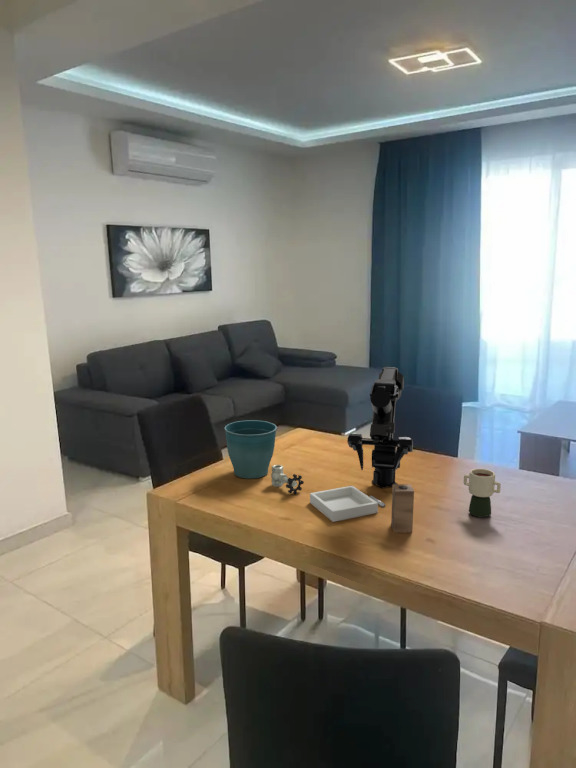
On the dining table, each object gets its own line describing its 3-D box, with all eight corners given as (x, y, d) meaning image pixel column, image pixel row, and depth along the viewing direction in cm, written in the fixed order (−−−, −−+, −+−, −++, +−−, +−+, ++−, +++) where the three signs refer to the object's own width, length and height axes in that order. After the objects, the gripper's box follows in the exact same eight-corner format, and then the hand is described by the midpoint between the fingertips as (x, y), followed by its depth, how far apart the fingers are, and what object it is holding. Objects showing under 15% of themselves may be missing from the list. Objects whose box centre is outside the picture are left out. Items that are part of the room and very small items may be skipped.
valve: (265, 485, 193) (287, 496, 184) (265, 466, 192) (287, 477, 182) (281, 481, 197) (303, 491, 188) (281, 462, 196) (303, 472, 186)
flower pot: (286, 470, 207) (286, 424, 203) (257, 486, 192) (256, 437, 189) (246, 461, 216) (245, 417, 213) (215, 476, 202) (213, 429, 198)
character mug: (502, 515, 169) (505, 473, 166) (493, 523, 164) (496, 480, 161) (467, 505, 176) (469, 465, 173) (456, 513, 171) (459, 471, 168)
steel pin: (372, 495, 182) (373, 498, 182) (369, 496, 182) (369, 499, 182) (385, 503, 176) (385, 506, 176) (381, 504, 175) (382, 508, 176)
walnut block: (391, 524, 164) (392, 483, 161) (408, 524, 164) (410, 484, 161) (394, 532, 159) (395, 490, 157) (412, 532, 159) (414, 490, 156)
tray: (352, 494, 185) (352, 485, 184) (377, 512, 171) (377, 502, 171) (309, 502, 179) (309, 493, 178) (332, 521, 166) (333, 511, 165)
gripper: (347, 408, 169) (342, 460, 163) (413, 412, 164) (410, 465, 158) (352, 422, 178) (347, 471, 173) (414, 425, 174) (410, 476, 168)
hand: (377, 471), depth 167 cm, fingers open, 9 cm apart
